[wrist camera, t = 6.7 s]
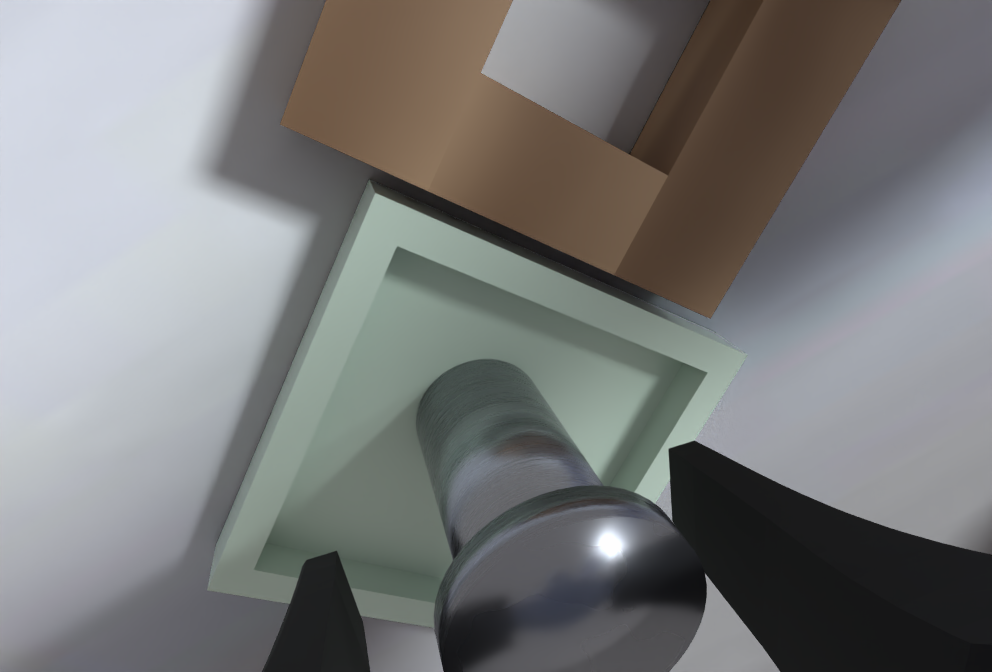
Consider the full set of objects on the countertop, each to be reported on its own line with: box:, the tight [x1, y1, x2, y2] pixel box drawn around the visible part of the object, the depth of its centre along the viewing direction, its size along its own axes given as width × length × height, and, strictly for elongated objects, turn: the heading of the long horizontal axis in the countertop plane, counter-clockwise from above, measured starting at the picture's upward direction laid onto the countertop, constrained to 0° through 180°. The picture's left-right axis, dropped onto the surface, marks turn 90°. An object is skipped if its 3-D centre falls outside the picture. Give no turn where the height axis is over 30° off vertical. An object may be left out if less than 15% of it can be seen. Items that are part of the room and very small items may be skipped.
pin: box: [416, 359, 707, 672], centre depth 13 cm, size 4×4×7 cm
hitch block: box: [280, 0, 901, 318], centre depth 13 cm, size 10×9×2 cm
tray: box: [207, 179, 748, 628], centre depth 16 cm, size 10×10×2 cm
